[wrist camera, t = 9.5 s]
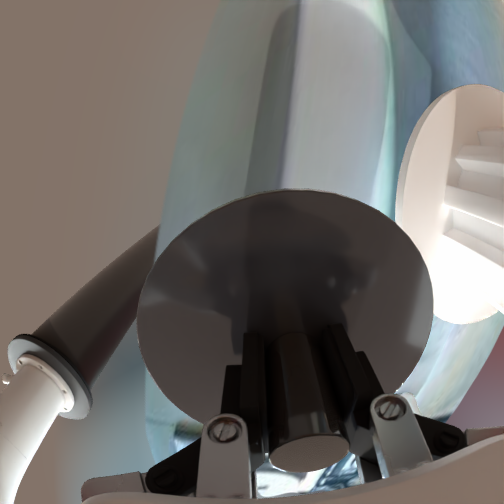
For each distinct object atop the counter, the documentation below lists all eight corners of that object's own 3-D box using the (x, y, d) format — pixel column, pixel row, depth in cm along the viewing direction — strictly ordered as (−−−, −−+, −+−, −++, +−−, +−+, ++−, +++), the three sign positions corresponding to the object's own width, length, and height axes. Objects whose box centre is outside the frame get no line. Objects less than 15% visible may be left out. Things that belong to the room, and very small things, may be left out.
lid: (182, 427, 15) (163, 512, 9) (115, 207, 11) (7, 259, 5) (395, 405, 14) (429, 482, 8) (433, 182, 10) (546, 214, 4)
